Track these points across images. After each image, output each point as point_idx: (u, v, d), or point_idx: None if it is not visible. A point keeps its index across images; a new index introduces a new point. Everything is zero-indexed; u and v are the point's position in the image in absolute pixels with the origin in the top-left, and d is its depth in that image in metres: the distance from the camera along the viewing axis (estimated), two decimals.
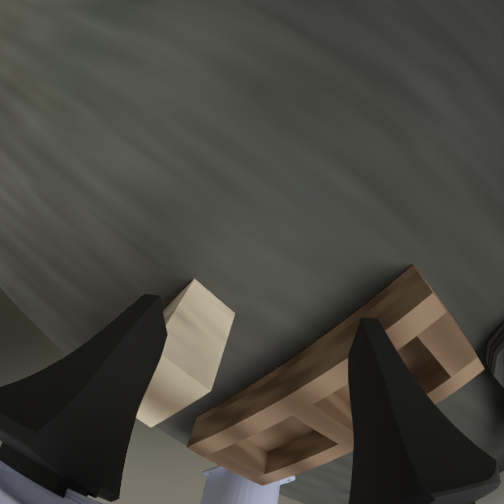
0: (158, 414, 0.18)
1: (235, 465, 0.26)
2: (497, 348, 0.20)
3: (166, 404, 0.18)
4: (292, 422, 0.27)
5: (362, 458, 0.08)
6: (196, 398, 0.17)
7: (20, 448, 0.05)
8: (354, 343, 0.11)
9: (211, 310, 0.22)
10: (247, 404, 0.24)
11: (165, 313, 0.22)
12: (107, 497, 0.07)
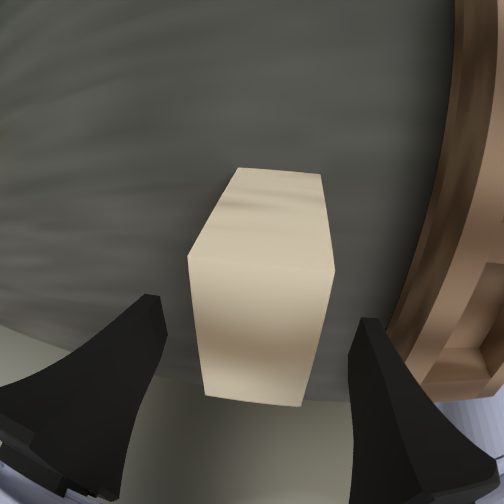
0: (292, 379, 0.11)
1: (451, 390, 0.17)
2: None
3: (290, 353, 0.10)
4: (488, 284, 0.16)
5: (362, 458, 0.08)
6: (323, 306, 0.09)
7: (20, 448, 0.05)
8: (354, 343, 0.11)
9: (280, 182, 0.14)
10: (421, 292, 0.15)
11: None
12: (108, 497, 0.07)
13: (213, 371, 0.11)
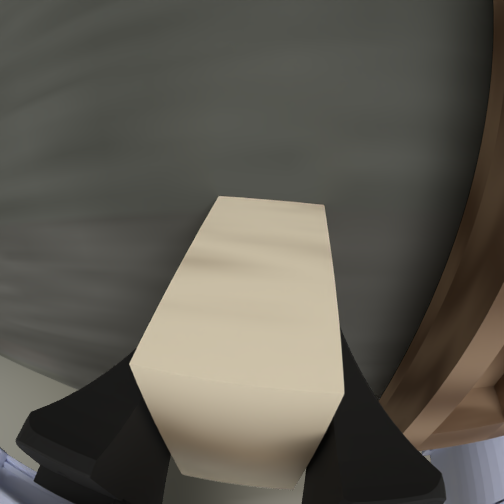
0: (283, 474, 0.08)
1: (462, 436, 0.14)
2: None
3: (279, 457, 0.07)
4: None
5: (312, 458, 0.08)
6: (324, 424, 0.06)
7: (70, 474, 0.05)
8: None
9: (272, 221, 0.11)
10: (440, 344, 0.12)
11: None
12: None
13: (187, 461, 0.08)
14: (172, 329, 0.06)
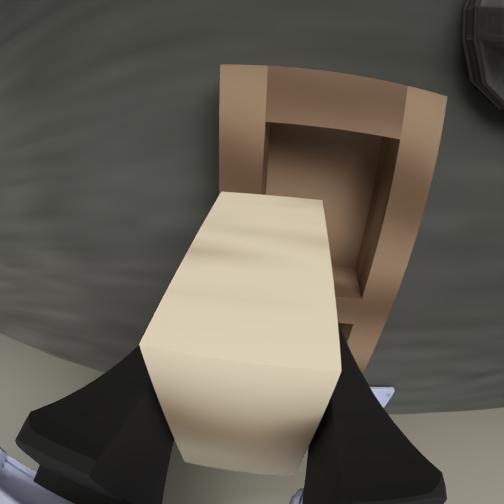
0: (283, 458, 0.08)
1: None
2: (481, 74, 0.12)
3: (280, 440, 0.08)
4: None
5: (312, 458, 0.08)
6: (323, 403, 0.06)
7: (70, 474, 0.05)
8: None
9: (272, 214, 0.11)
10: None
11: None
12: None
13: (190, 446, 0.09)
14: (179, 312, 0.07)
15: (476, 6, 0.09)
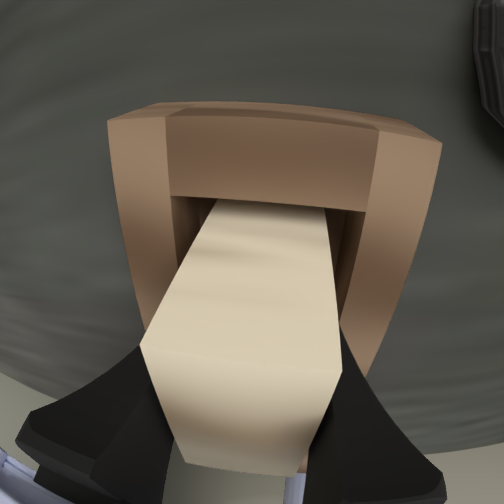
0: (284, 459, 0.08)
1: None
2: (499, 101, 0.08)
3: (280, 440, 0.08)
4: None
5: (312, 458, 0.08)
6: (324, 403, 0.06)
7: (70, 474, 0.05)
8: None
9: (273, 215, 0.11)
10: None
11: None
12: None
13: (191, 447, 0.09)
14: (180, 313, 0.07)
15: (494, 4, 0.06)
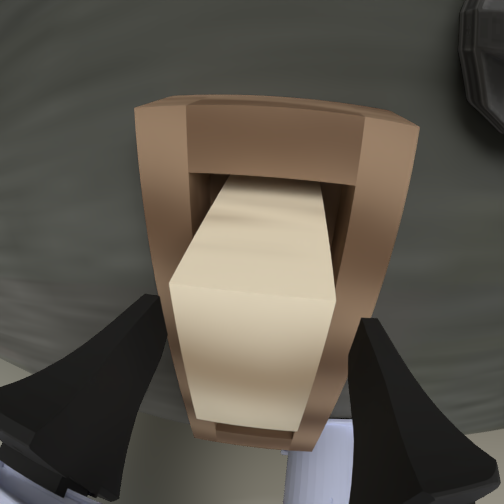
0: (288, 406, 0.10)
1: (252, 440, 0.23)
2: (481, 94, 0.10)
3: (285, 382, 0.09)
4: None
5: (362, 458, 0.08)
6: (322, 337, 0.08)
7: (20, 448, 0.05)
8: (354, 343, 0.11)
9: (276, 191, 0.13)
10: None
11: None
12: (108, 497, 0.07)
13: (203, 397, 0.10)
14: (201, 260, 0.09)
15: (477, 9, 0.08)
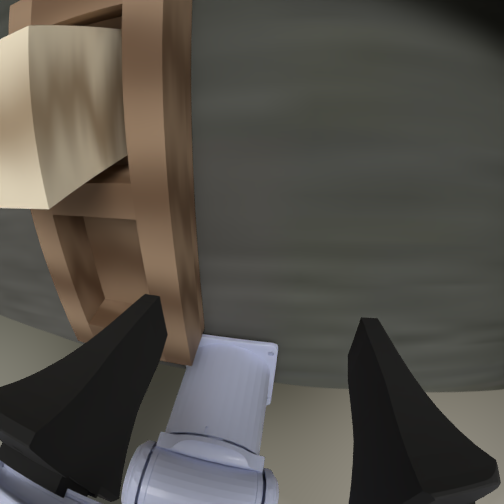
0: (28, 160, 0.09)
1: None
2: None
3: (18, 122, 0.08)
4: (129, 241, 0.20)
5: (362, 458, 0.08)
6: (26, 59, 0.07)
7: (20, 448, 0.05)
8: (354, 343, 0.11)
9: None
10: None
11: None
12: (107, 497, 0.07)
13: None
14: None
15: None
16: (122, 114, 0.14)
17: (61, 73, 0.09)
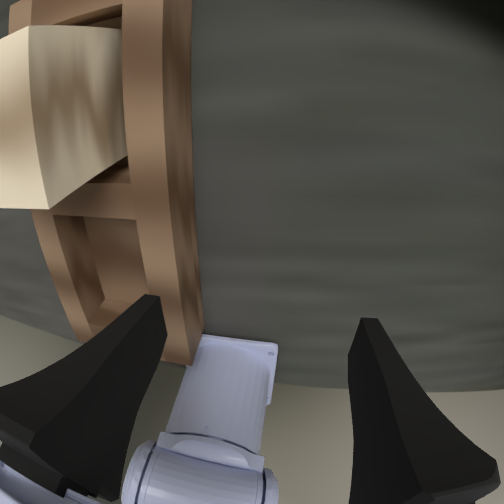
0: (28, 160, 0.09)
1: None
2: None
3: (18, 122, 0.08)
4: (129, 241, 0.20)
5: (362, 458, 0.08)
6: (26, 59, 0.07)
7: (20, 448, 0.05)
8: (354, 343, 0.11)
9: None
10: None
11: None
12: (107, 497, 0.07)
13: None
14: None
15: None
16: (122, 114, 0.14)
17: (61, 73, 0.09)
